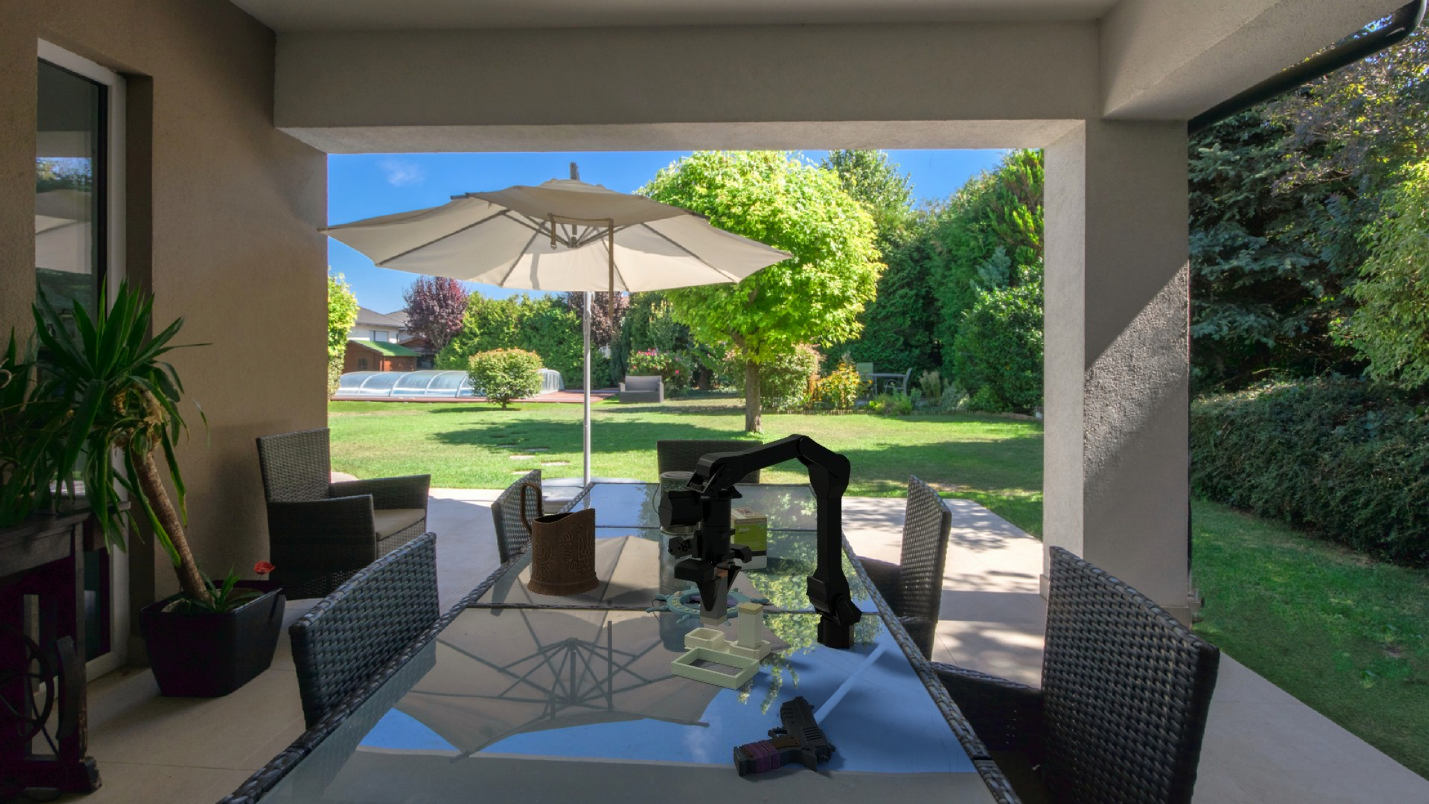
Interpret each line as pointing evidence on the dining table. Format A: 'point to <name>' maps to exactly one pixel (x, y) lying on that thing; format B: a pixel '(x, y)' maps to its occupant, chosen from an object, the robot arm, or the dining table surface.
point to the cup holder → (560, 549)
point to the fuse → (750, 625)
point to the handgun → (786, 742)
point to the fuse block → (723, 643)
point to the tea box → (750, 536)
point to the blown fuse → (717, 603)
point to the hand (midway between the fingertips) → (713, 608)
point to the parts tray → (712, 677)
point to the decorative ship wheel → (675, 604)
